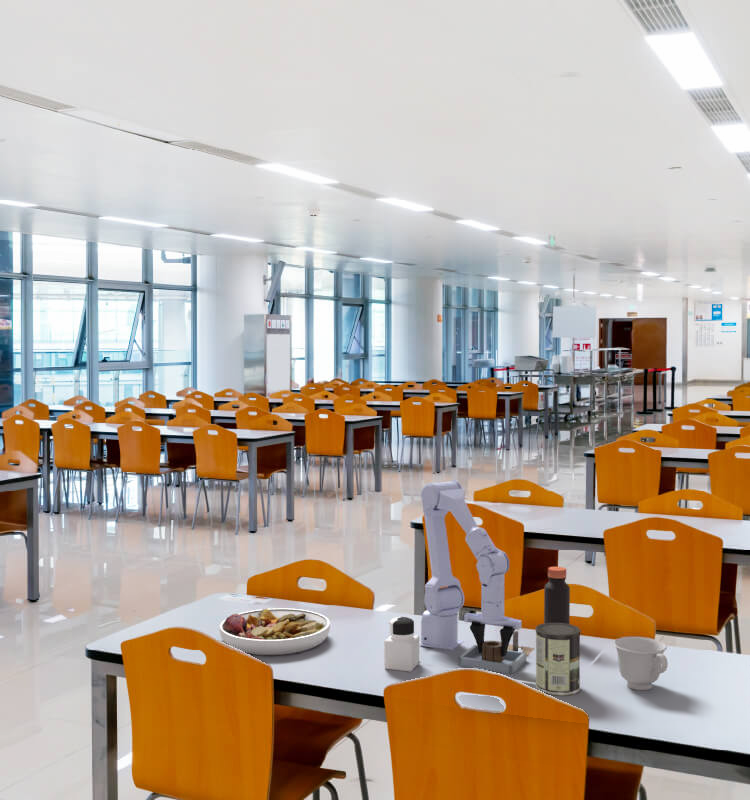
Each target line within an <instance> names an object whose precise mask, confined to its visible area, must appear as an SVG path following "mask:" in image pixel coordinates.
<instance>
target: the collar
mask: <svg viewBox="0 0 750 800" xmlns="http://www.w3.org/2000/svg"><path fill="white" fill-rule="evenodd" d="M482 660H485V661H491V662H497V663H500V662H502V661H503V660H504V657H503V656H501V641H498V640H484V642H483V643H482Z"/></svg>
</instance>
